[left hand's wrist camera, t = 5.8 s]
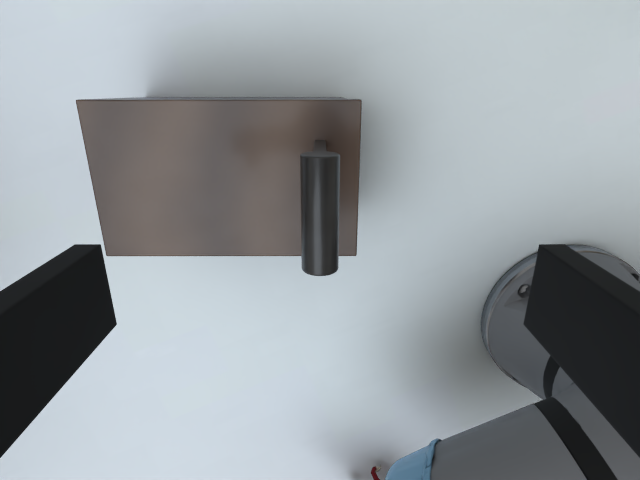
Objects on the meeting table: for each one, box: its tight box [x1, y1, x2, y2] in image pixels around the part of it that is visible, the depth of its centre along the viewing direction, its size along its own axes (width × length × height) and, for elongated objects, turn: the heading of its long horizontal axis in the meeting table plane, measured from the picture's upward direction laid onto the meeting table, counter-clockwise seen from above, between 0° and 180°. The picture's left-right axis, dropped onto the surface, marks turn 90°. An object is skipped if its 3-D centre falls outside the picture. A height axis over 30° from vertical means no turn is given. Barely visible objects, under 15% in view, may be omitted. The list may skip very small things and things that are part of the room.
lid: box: [76, 99, 362, 276], centre depth 23 cm, size 17×10×9 cm, turn 90°
